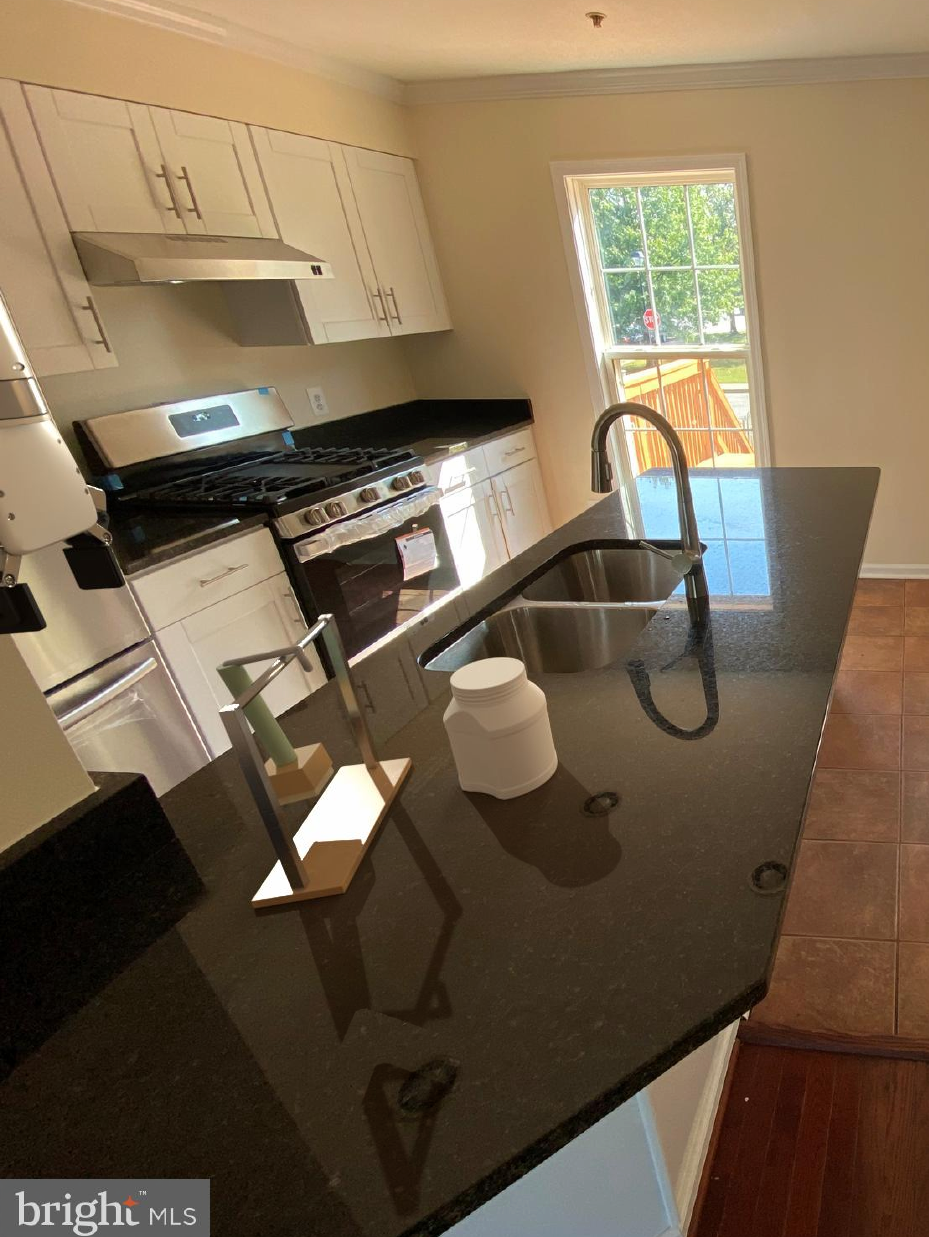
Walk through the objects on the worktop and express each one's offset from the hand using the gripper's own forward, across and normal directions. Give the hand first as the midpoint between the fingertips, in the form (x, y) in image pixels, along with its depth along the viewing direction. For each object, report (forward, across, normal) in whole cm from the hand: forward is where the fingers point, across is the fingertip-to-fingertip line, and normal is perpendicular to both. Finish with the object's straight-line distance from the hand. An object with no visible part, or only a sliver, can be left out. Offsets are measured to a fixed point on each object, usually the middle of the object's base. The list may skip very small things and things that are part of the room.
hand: (65, 608), depth 60 cm
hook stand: (+26, -7, +11) cm, 29 cm away
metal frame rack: (+32, -7, +12) cm, 34 cm away
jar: (+32, -12, +29) cm, 44 cm away
